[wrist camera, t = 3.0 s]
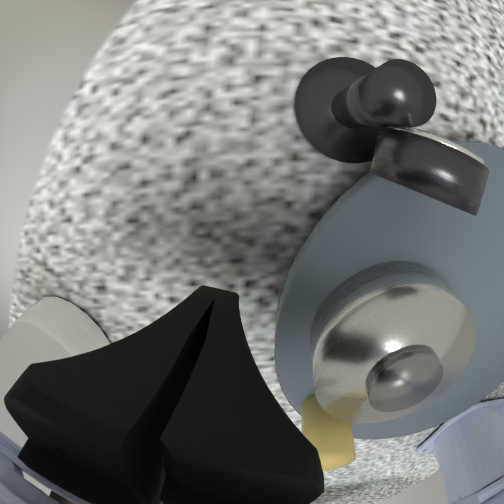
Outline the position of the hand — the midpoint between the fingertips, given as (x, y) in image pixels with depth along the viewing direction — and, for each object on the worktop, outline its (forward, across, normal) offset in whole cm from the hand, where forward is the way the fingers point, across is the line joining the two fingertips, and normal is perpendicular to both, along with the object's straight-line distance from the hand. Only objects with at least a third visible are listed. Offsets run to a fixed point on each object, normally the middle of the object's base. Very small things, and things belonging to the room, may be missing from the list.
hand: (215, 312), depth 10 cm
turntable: (+2, -11, 0) cm, 12 cm away
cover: (+1, -7, 0) cm, 7 cm away
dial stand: (+4, -3, -8) cm, 9 cm away
